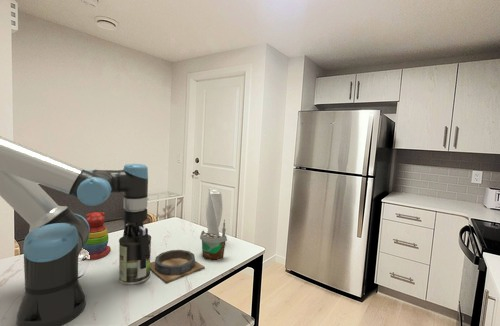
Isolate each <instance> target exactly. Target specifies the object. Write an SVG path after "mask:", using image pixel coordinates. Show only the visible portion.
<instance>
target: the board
mask: <svg viewBox="0 0 500 326" xmlns="http://www.w3.org/2000/svg"><path fill="white" fill-rule="evenodd" d="M187 262H189V261H188V260H187V259H182V258H174V259H169V260H165V261H163V262H162V264H164V265H169V266H174V265H182V264H184V263H187ZM205 268H206V267H205V266H204V265H203V264H202V263H200V262H198V261H196V260H195V266H194V267H193V268H192V270H191V271H189V272H186V273H184V274H181V275H164V274H160V273H158V272H157V271H156V270H155V260H154V261H150V272H152V273H153V274H154V275H155V276H156V277H157V278H159V279H160V280H161V281H162V282H163V283H165V284H170V283H171V282H174V281H177V280H179V279H182V278H185V277H187V276H190V275H192V274H195V273H197V272H200V271H202V270H205Z"/></svg>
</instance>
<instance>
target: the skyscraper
mask: <svg viewBox="0 0 500 326" xmlns="http://www.w3.org/2000/svg"><path fill="white" fill-rule="evenodd" d="M207 189H208V193H207V199H206V200H207V201H206V207H205V218H206V219H205V221H206V225H207V232H206V233H209V234H216V235H218V236H222V237H223V236H226V223H225V221H226V219H223V226H222V229H221V230H222V231H221V232H222V233H221V234H222V235H221V234H220V230H219V227H220V224H221V221H222V216H223V195H222V192H221V190H219V189H218V188H213V187H210V188H207Z"/></svg>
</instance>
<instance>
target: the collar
mask: <svg viewBox="0 0 500 326" xmlns="http://www.w3.org/2000/svg"><path fill="white" fill-rule="evenodd" d="M195 257H196V256H195V254H194V253H193V252H191V251H190V250H183V249H172V250H166V251H164V252H161V253H159V254H158V255H156V256H155V260H154V261H155V270H156V271H157V272H158V273H160V274H164V275H181V274H184V273H186V272H189V271H191V270H192V268H193V267H194V266H195V261H196V259H195ZM174 258H182V259H187V260H188V261H189V262H187V263H184V264H182V265H174V266H169V265H164V264H162V262H163V261H165V260H169V259H174Z"/></svg>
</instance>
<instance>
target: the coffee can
mask: <svg viewBox="0 0 500 326" xmlns="http://www.w3.org/2000/svg"><path fill="white" fill-rule="evenodd" d="M136 237H138V236H136ZM118 243H119V245H118V247H119V250H118V251H119V255H118V257H119V258H118V259H119V261H118V263H119V264H118V265H119V266H118V269H119V270H118V281H119V282H120V283H121V284H123V285H139V284H141V283H143V282H146V281H147V280H149V278H150V277H151V270H150V263H151V257H152V256H151V253H152V252H151V251H152V250H151V249H152V248H151V247H152V245H151V244H152V236H151V235H150V234H148V243H149V252H150V258H148V259H146V276H144V277H141V278H137V259H139V256H138V246H140V243H136V241H135V240H134V239H133V236H131V237H128V236H127V235H125V236H123V235H122V236H121V237H120V238H119V239H118Z"/></svg>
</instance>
